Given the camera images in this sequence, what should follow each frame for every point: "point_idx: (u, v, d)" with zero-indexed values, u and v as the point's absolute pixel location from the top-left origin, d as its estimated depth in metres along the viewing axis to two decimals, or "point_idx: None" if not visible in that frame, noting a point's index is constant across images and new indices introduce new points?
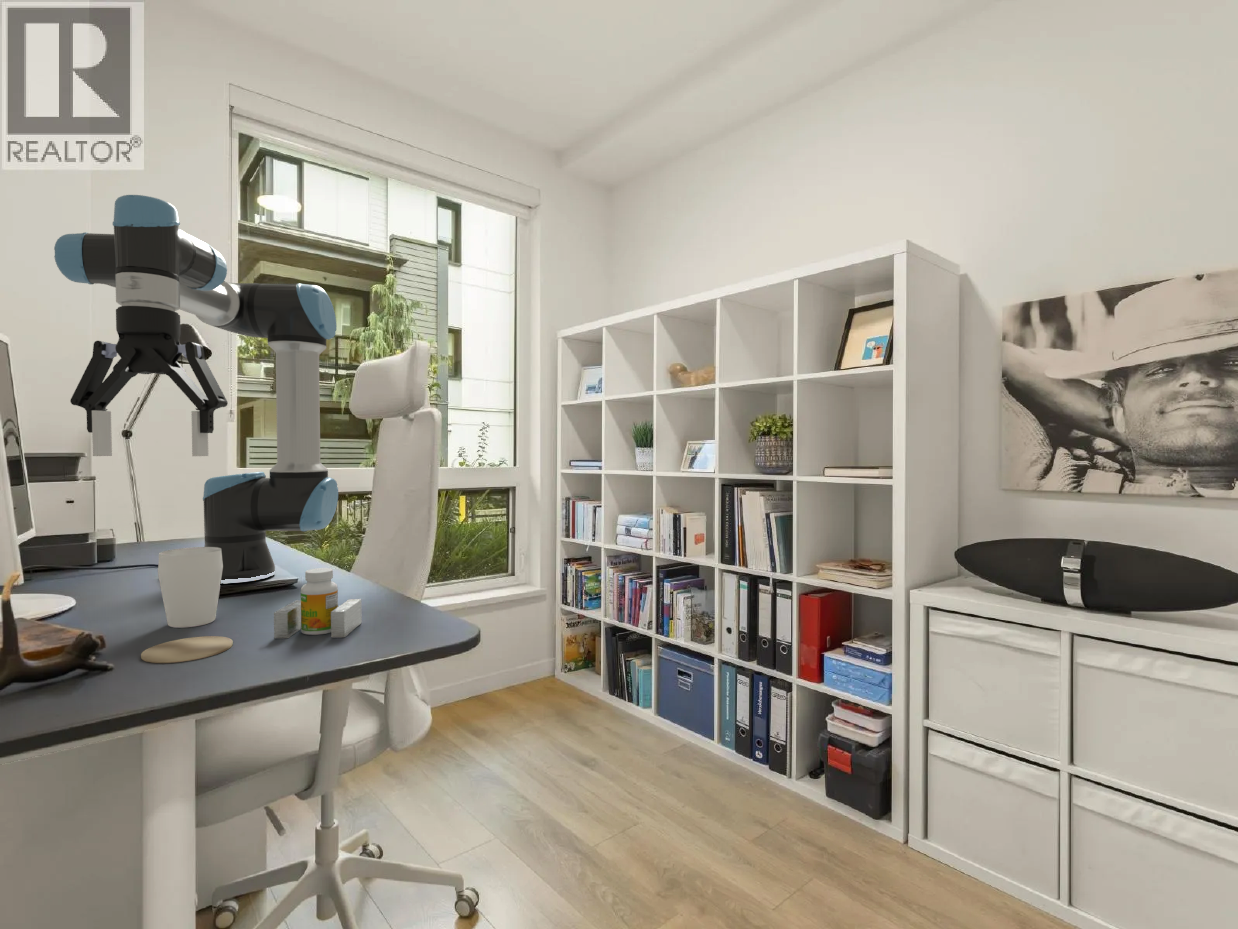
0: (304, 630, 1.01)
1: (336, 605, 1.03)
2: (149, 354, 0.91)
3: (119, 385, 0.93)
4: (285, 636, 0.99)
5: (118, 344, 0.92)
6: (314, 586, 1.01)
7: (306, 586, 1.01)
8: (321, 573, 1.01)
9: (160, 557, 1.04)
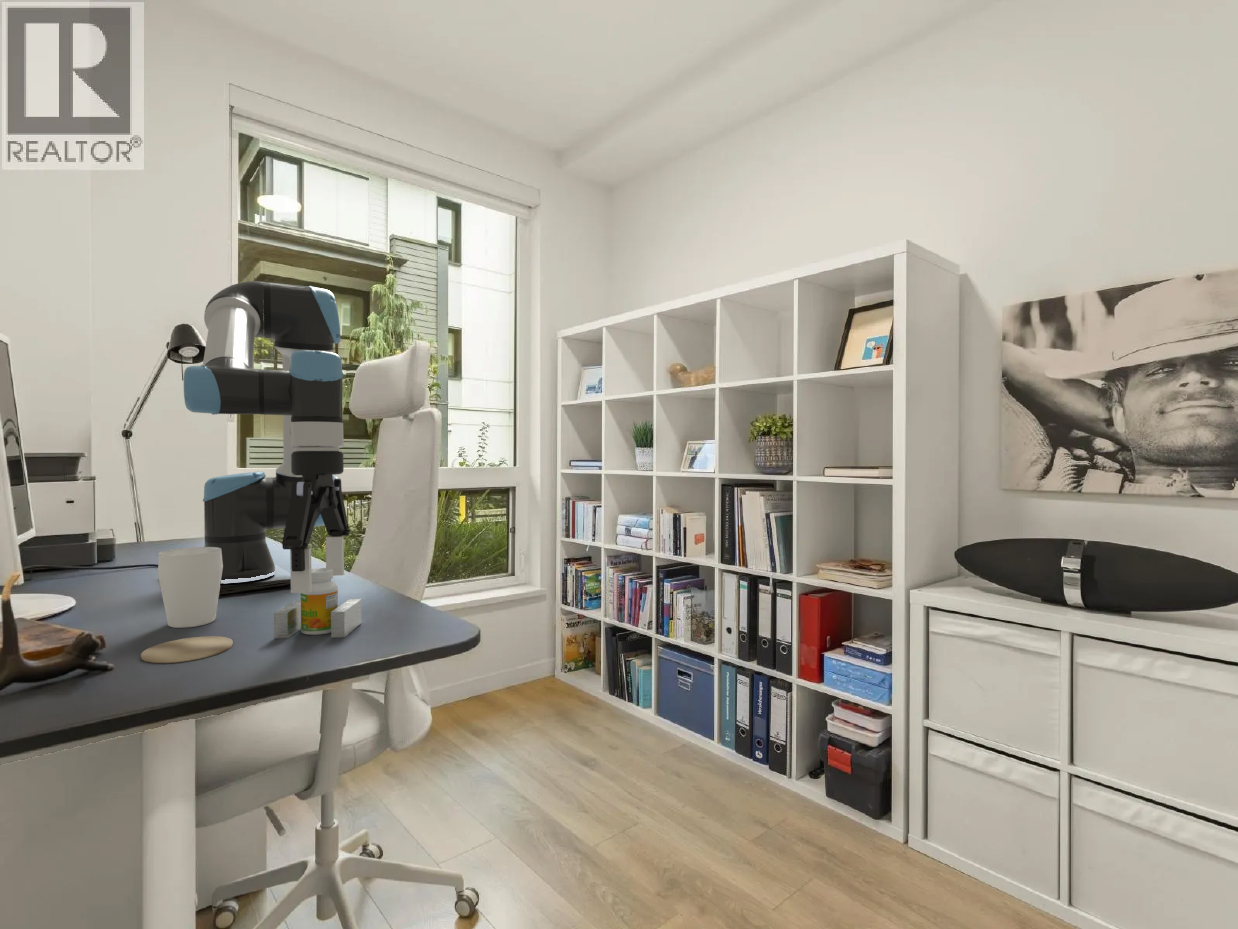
0: (304, 630, 1.01)
1: (336, 605, 1.03)
2: None
3: (330, 516, 1.07)
4: (285, 636, 0.99)
5: None
6: (314, 586, 1.01)
7: None
8: (321, 573, 1.01)
9: (160, 557, 1.04)
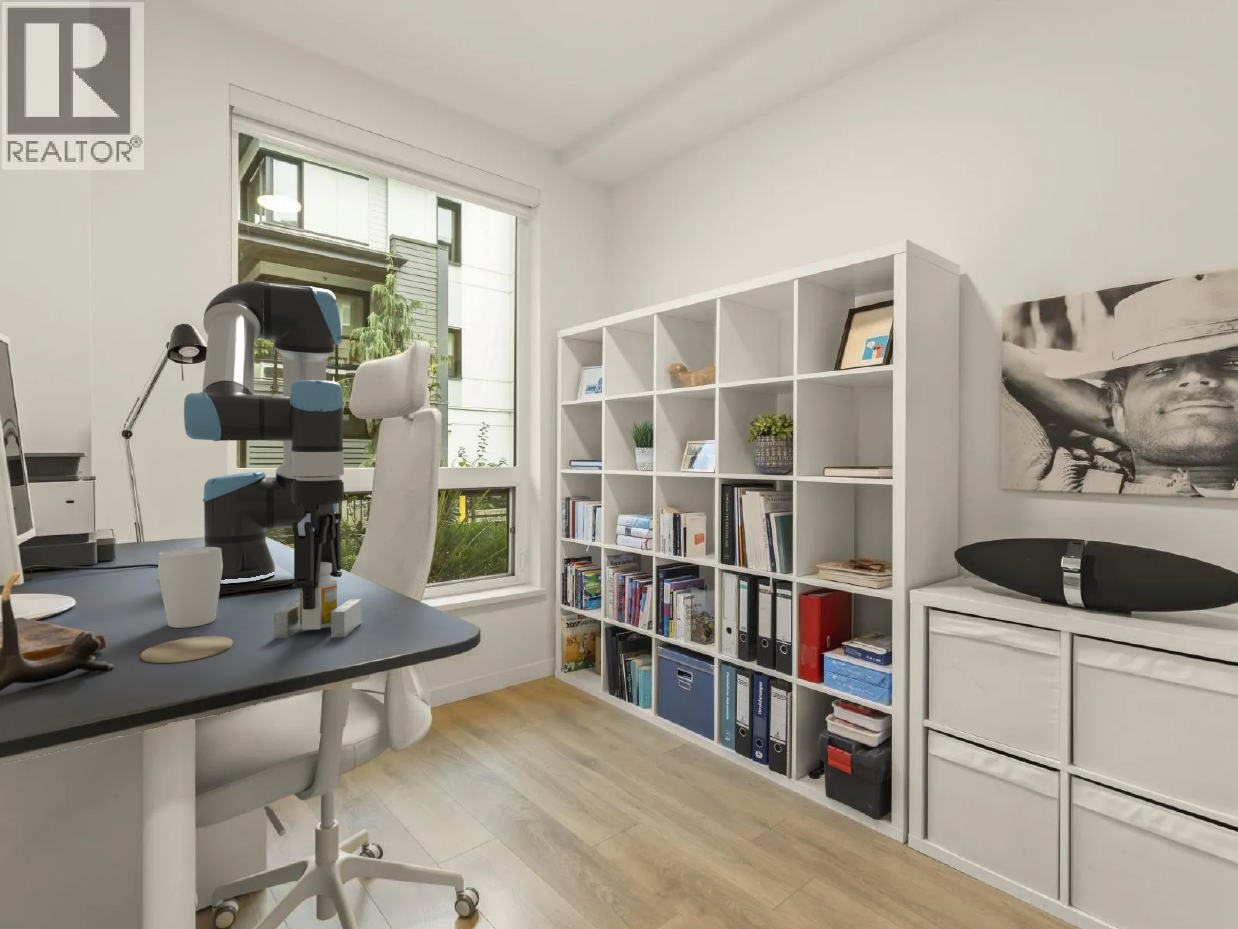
0: None
1: (335, 599, 1.03)
2: None
3: (325, 550, 1.05)
4: (285, 636, 0.99)
5: None
6: None
7: None
8: (320, 567, 1.01)
9: (160, 557, 1.04)
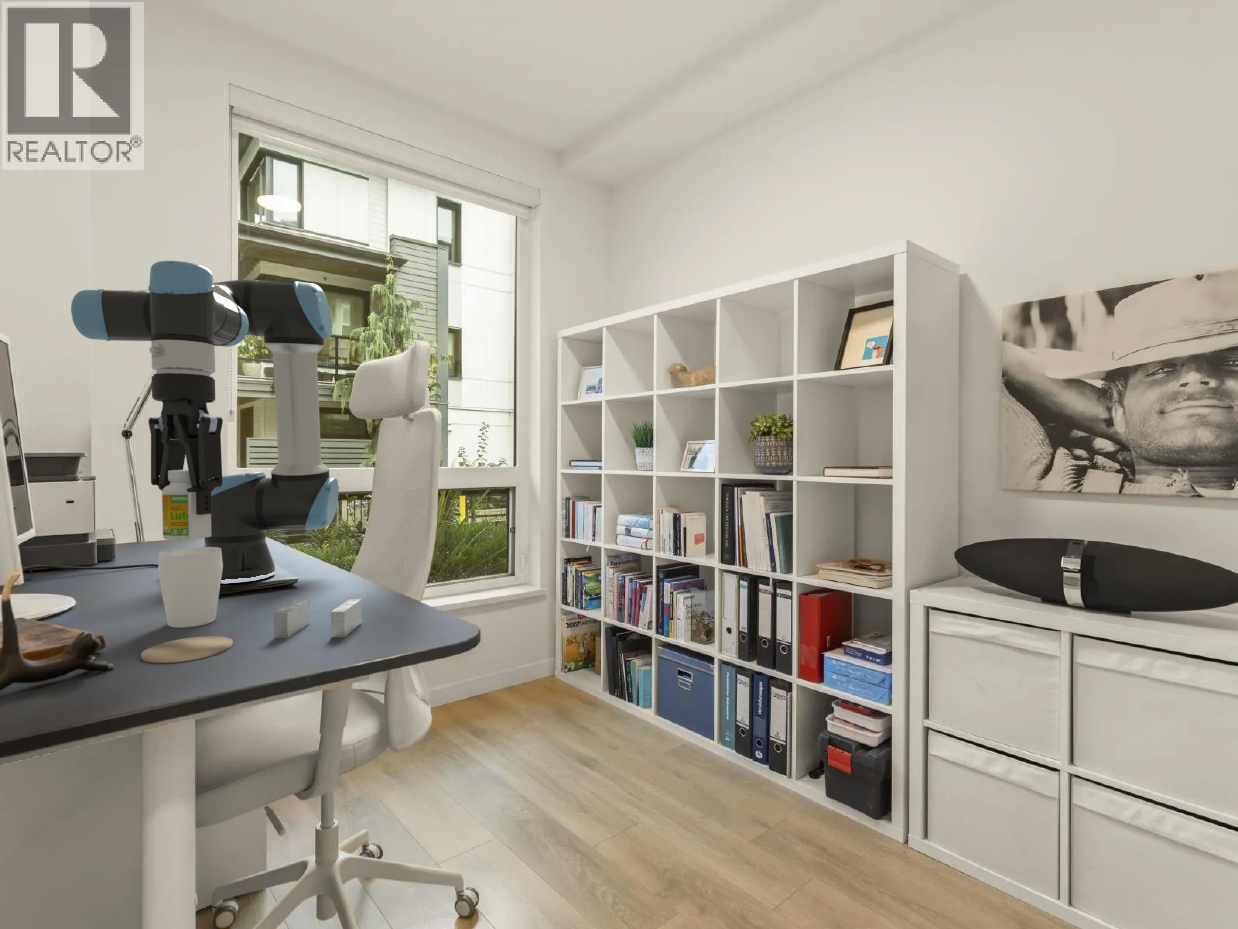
0: (184, 534, 0.90)
1: None
2: (174, 420, 0.90)
3: (178, 456, 0.94)
4: (285, 636, 0.99)
5: (161, 413, 0.93)
6: None
7: (182, 486, 0.90)
8: None
9: (160, 557, 1.04)
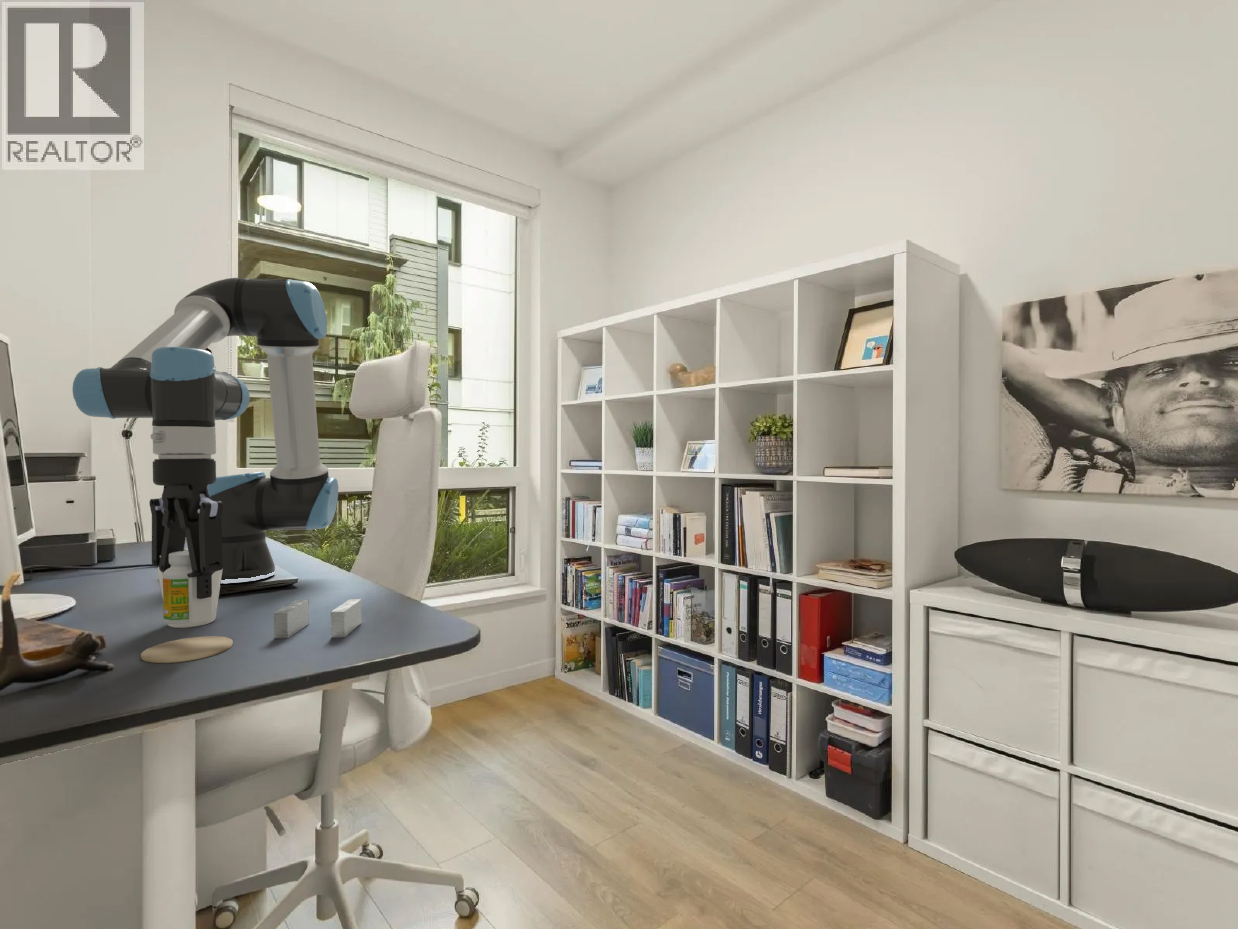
0: (184, 618, 0.91)
1: None
2: (175, 505, 0.90)
3: (178, 538, 0.94)
4: (285, 636, 0.99)
5: (162, 495, 0.93)
6: None
7: (183, 570, 0.91)
8: None
9: None
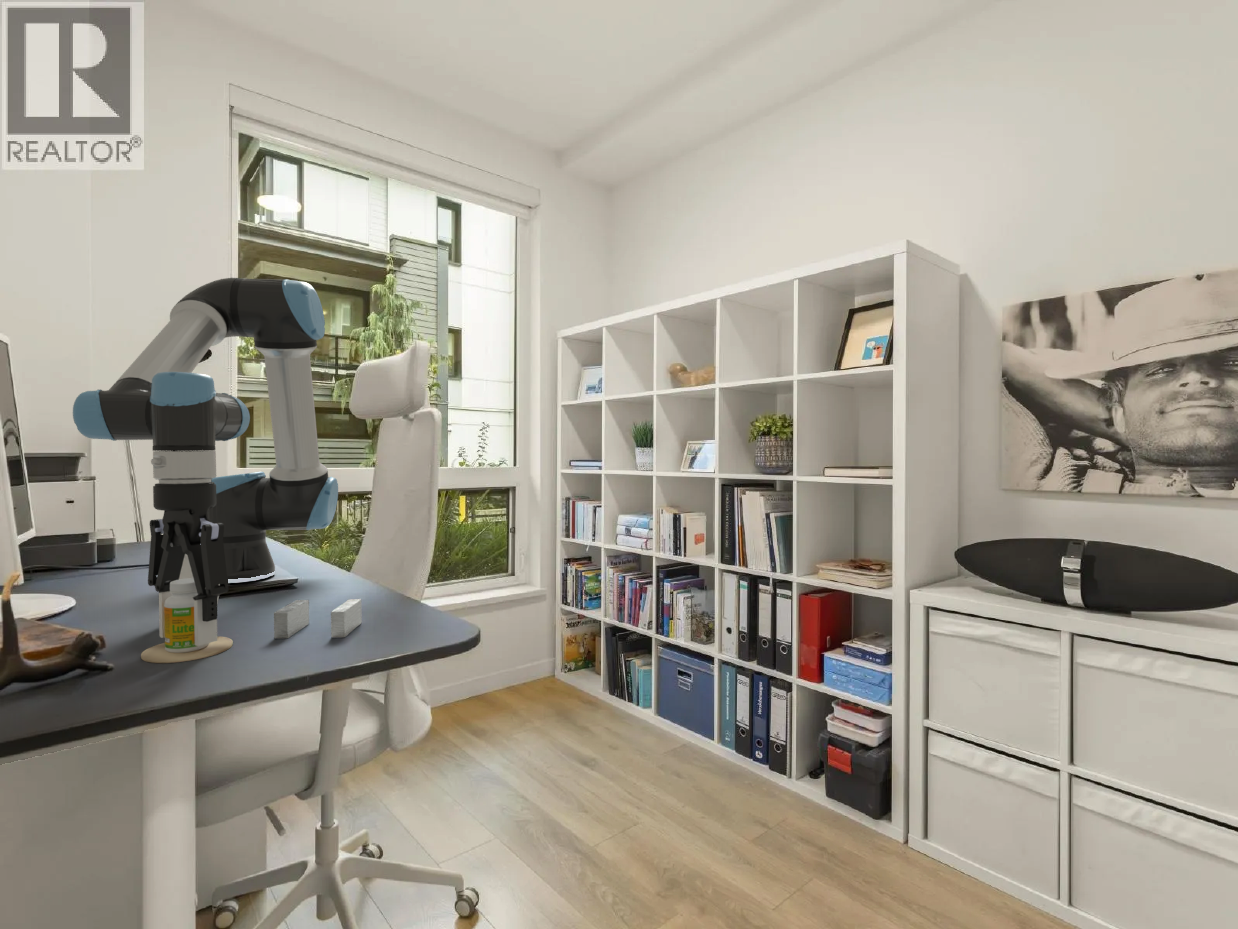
0: (186, 647, 0.91)
1: None
2: (176, 530, 0.90)
3: (176, 560, 0.94)
4: (285, 636, 0.99)
5: (163, 518, 0.93)
6: None
7: (184, 599, 0.91)
8: None
9: None
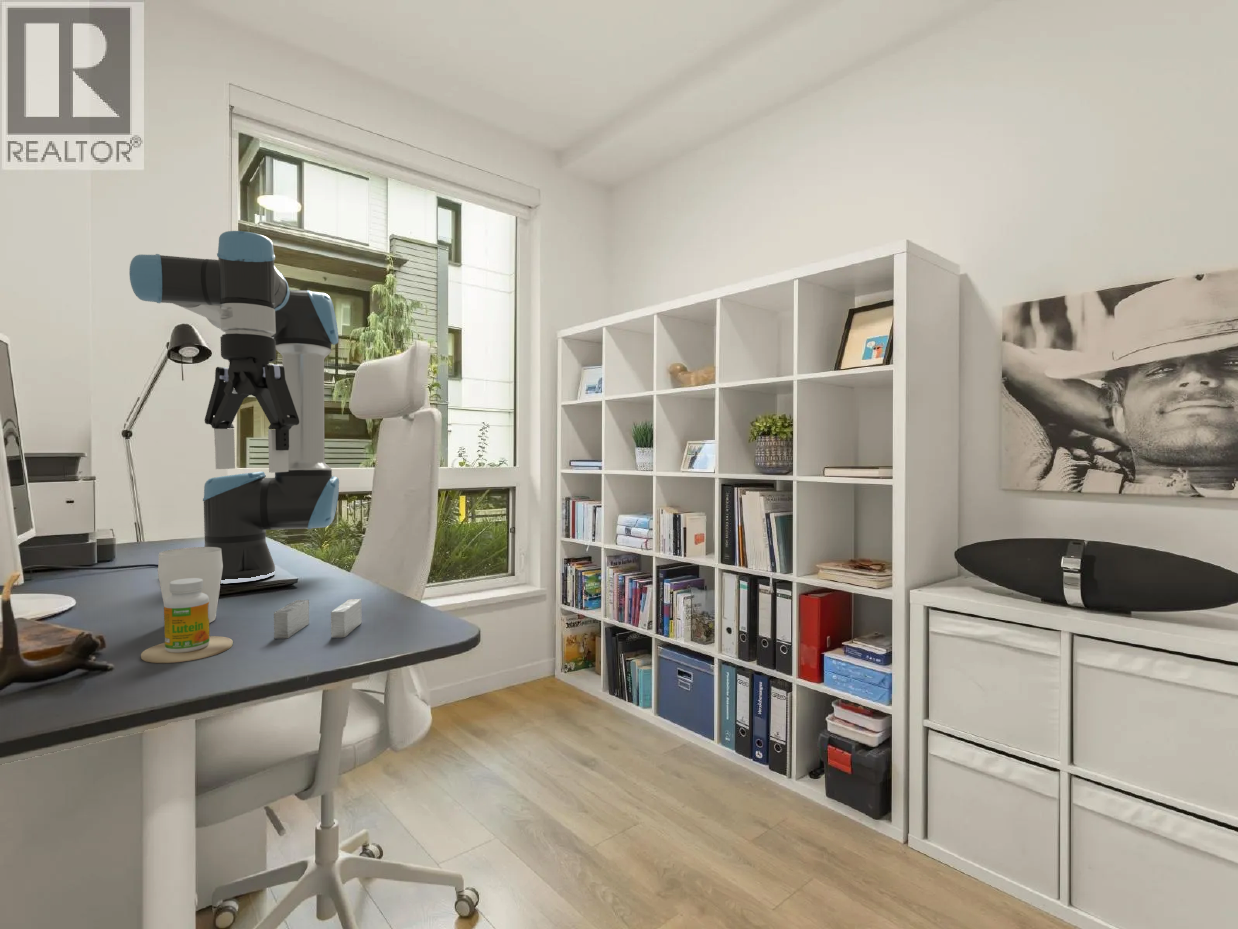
0: (186, 647, 0.91)
1: None
2: (241, 377, 0.99)
3: (234, 405, 1.04)
4: (285, 636, 0.99)
5: (228, 369, 1.02)
6: (195, 597, 0.92)
7: (184, 599, 0.91)
8: (200, 581, 0.93)
9: (160, 557, 1.04)
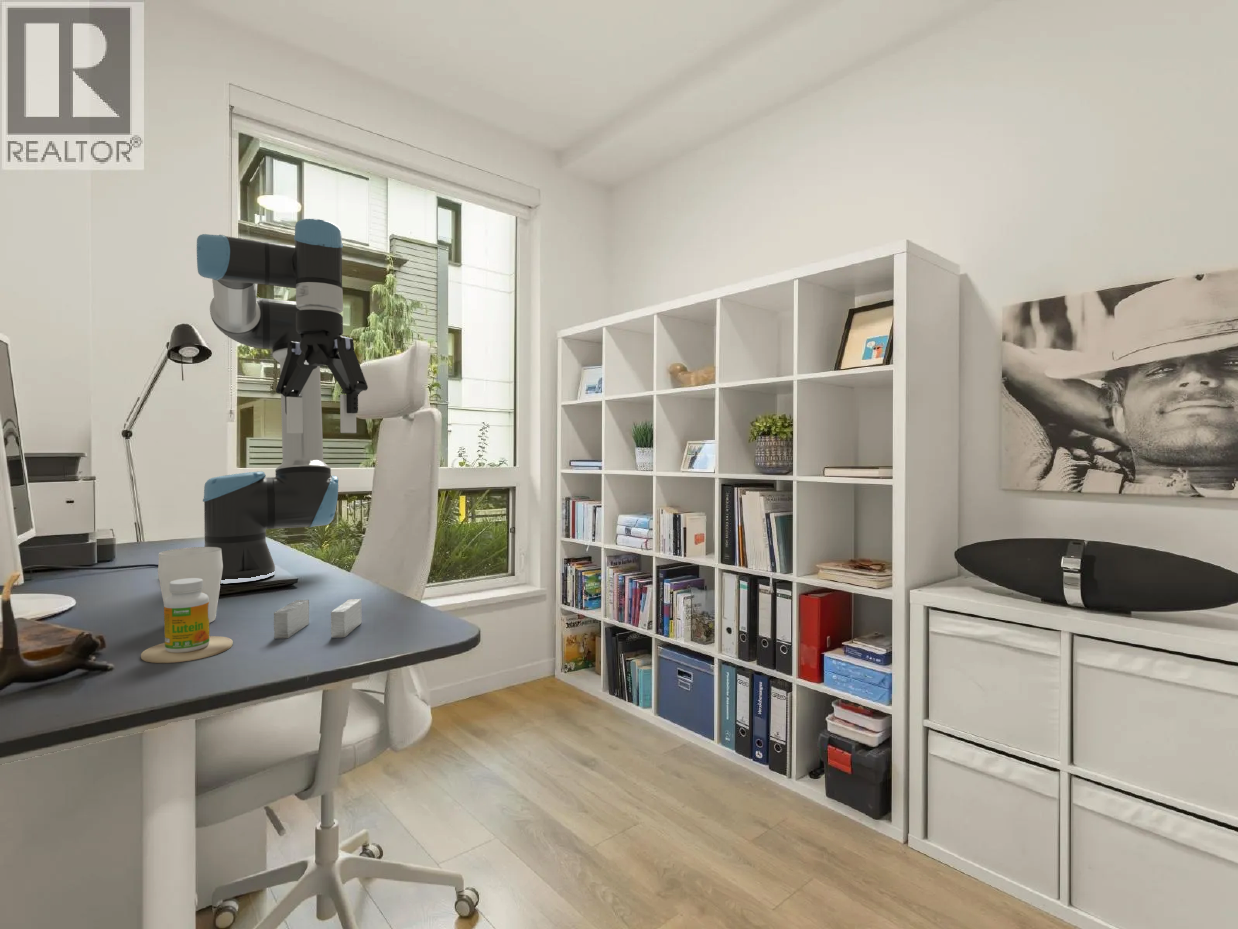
0: (186, 647, 0.91)
1: None
2: (315, 348, 1.11)
3: (304, 376, 1.16)
4: (285, 636, 0.99)
5: (300, 342, 1.14)
6: (195, 597, 0.92)
7: (184, 599, 0.91)
8: (200, 581, 0.93)
9: (160, 557, 1.04)
